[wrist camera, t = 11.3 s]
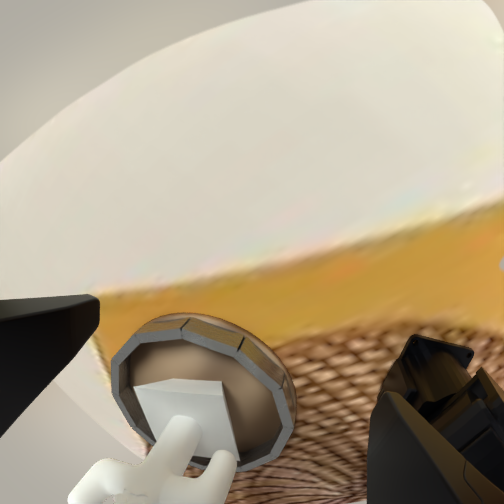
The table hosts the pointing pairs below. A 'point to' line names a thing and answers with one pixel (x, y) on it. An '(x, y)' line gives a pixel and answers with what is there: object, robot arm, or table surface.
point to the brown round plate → (214, 378)
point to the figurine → (171, 450)
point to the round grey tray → (219, 342)
